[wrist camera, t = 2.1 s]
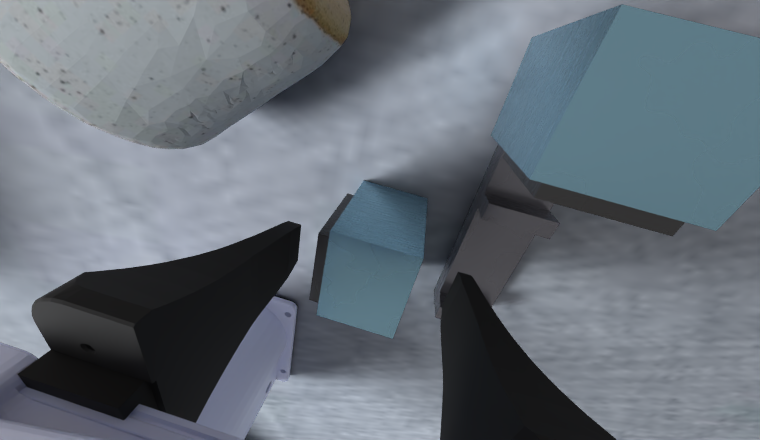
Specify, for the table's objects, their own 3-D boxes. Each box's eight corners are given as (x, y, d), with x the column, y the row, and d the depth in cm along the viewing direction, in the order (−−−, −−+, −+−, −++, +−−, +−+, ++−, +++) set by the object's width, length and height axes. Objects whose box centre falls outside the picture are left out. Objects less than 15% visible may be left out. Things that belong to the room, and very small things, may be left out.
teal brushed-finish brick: (427, 198, 15) (423, 258, 10) (404, 263, 17) (392, 338, 12) (355, 177, 15) (317, 227, 10) (342, 245, 17) (305, 311, 12)
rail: (493, 307, 17) (522, 428, 11) (422, 286, 17) (415, 394, 12) (642, 62, 11) (893, 50, 5) (525, 33, 11) (630, -13, 5)
